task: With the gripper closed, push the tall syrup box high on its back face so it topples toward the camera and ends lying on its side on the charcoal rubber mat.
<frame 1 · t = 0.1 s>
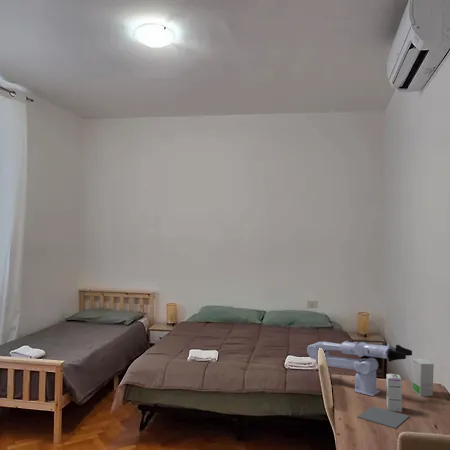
hand: (408, 354, 206), 22 cm above the table, tool horizontal, fingers open, 7 cm apart
syrup box: (394, 409, 198), on the table
mat: (383, 417, 190), on the table
skincare box: (422, 393, 217), on the table
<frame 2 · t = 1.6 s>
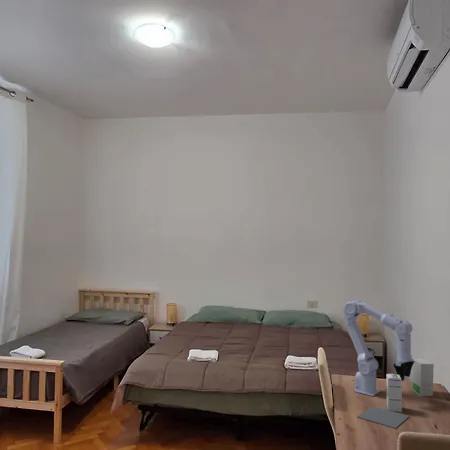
hand: (404, 378, 207), 10 cm above the table, tool pointing down, fingers open, 7 cm apart
nothing on the table moved.
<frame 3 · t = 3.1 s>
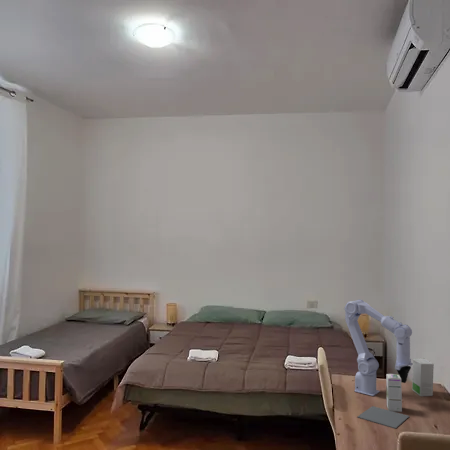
hand: (403, 382, 206), 9 cm above the table, tool pointing down, fingers closed
nothing on the table moved.
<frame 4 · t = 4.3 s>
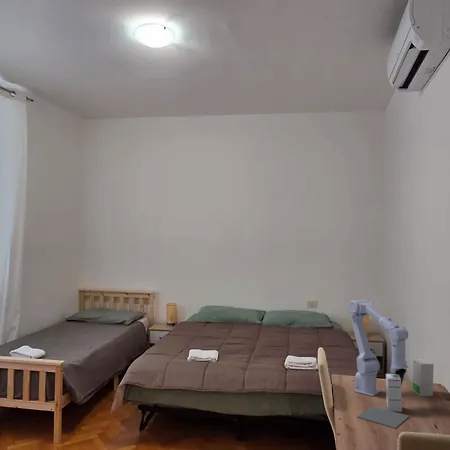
hand: (398, 385, 202), 9 cm above the table, tool pointing down, fingers closed
syrup box: (394, 409, 198), on the table, touching gripper
everything else where it was.
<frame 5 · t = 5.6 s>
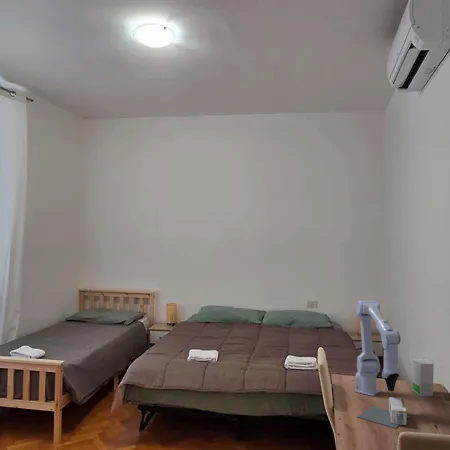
hand: (390, 390, 196), 9 cm above the table, tool pointing down, fingers closed
syrup box: (395, 403, 196), point 3 cm above the table, touching mat
everything else where it was.
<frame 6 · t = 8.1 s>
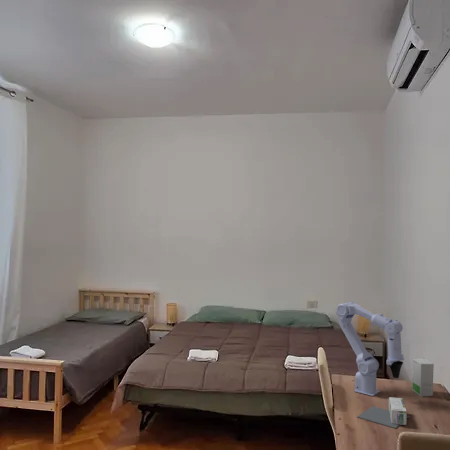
hand: (395, 377, 208), 10 cm above the table, tool pointing down, fingers closed
nothing on the table moved.
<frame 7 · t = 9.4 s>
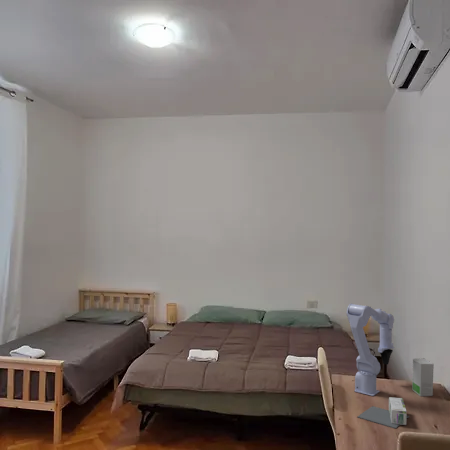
hand: (385, 363, 229), 10 cm above the table, tool pointing down, fingers closed
nothing on the table moved.
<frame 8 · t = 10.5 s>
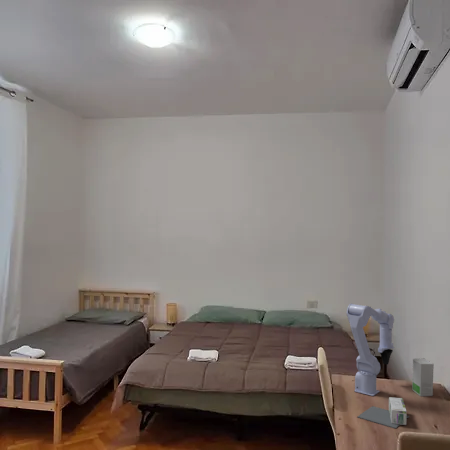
hand: (385, 363, 229), 10 cm above the table, tool pointing down, fingers closed
nothing on the table moved.
at the end: syrup box tilted 90°; syrup box inside the target area (2.4 cm from its centre), point 3.2 cm above the table; syrup box touching mat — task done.
